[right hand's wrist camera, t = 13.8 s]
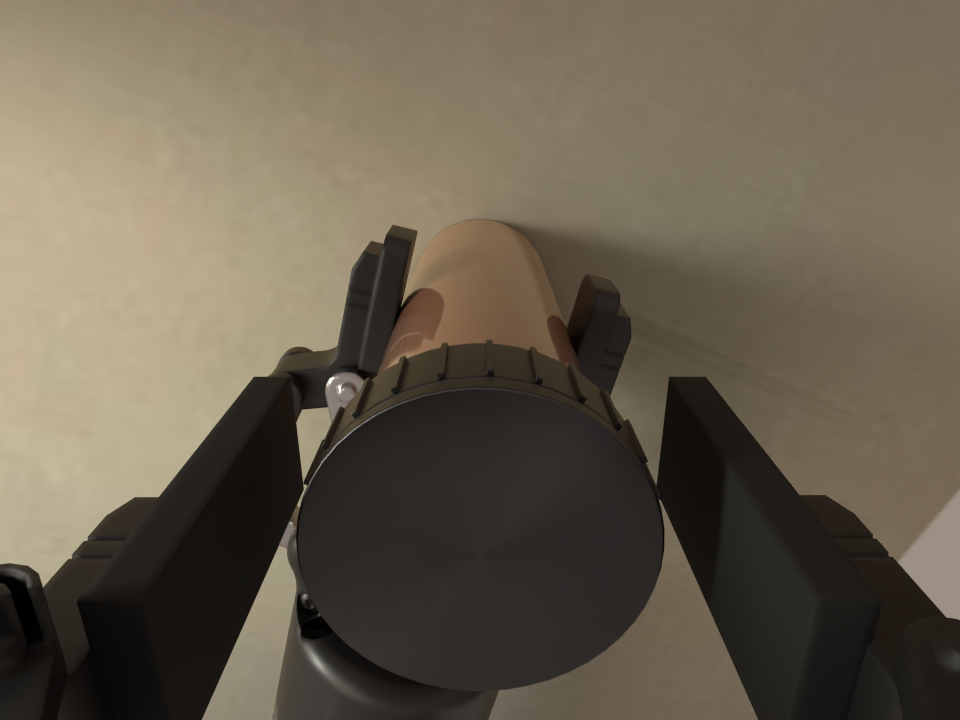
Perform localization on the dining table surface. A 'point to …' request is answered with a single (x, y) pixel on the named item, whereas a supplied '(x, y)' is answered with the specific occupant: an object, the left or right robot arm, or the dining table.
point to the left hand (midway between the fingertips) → (502, 261)
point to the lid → (480, 519)
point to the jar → (479, 296)
